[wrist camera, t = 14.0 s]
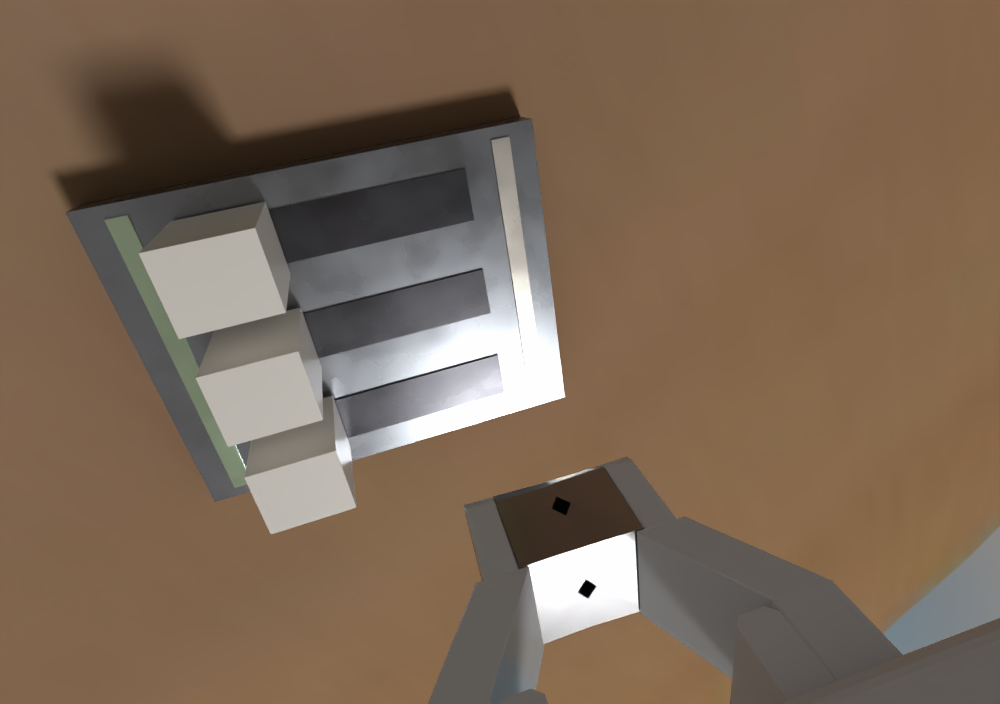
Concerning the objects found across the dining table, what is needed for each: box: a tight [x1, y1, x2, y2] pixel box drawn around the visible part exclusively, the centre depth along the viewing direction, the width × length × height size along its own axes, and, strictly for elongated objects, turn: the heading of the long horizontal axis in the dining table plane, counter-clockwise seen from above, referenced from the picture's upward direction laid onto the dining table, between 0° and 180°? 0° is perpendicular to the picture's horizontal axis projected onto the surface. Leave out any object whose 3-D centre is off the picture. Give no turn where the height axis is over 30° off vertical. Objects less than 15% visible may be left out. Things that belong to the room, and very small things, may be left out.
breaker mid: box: [196, 307, 323, 447], centre depth 23 cm, size 4×3×4 cm
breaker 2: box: [244, 396, 356, 534], centre depth 25 cm, size 4×3×4 cm
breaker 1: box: [139, 202, 290, 339], centre depth 21 cm, size 4×3×4 cm
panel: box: [66, 117, 565, 502], centre depth 26 cm, size 18×14×2 cm
